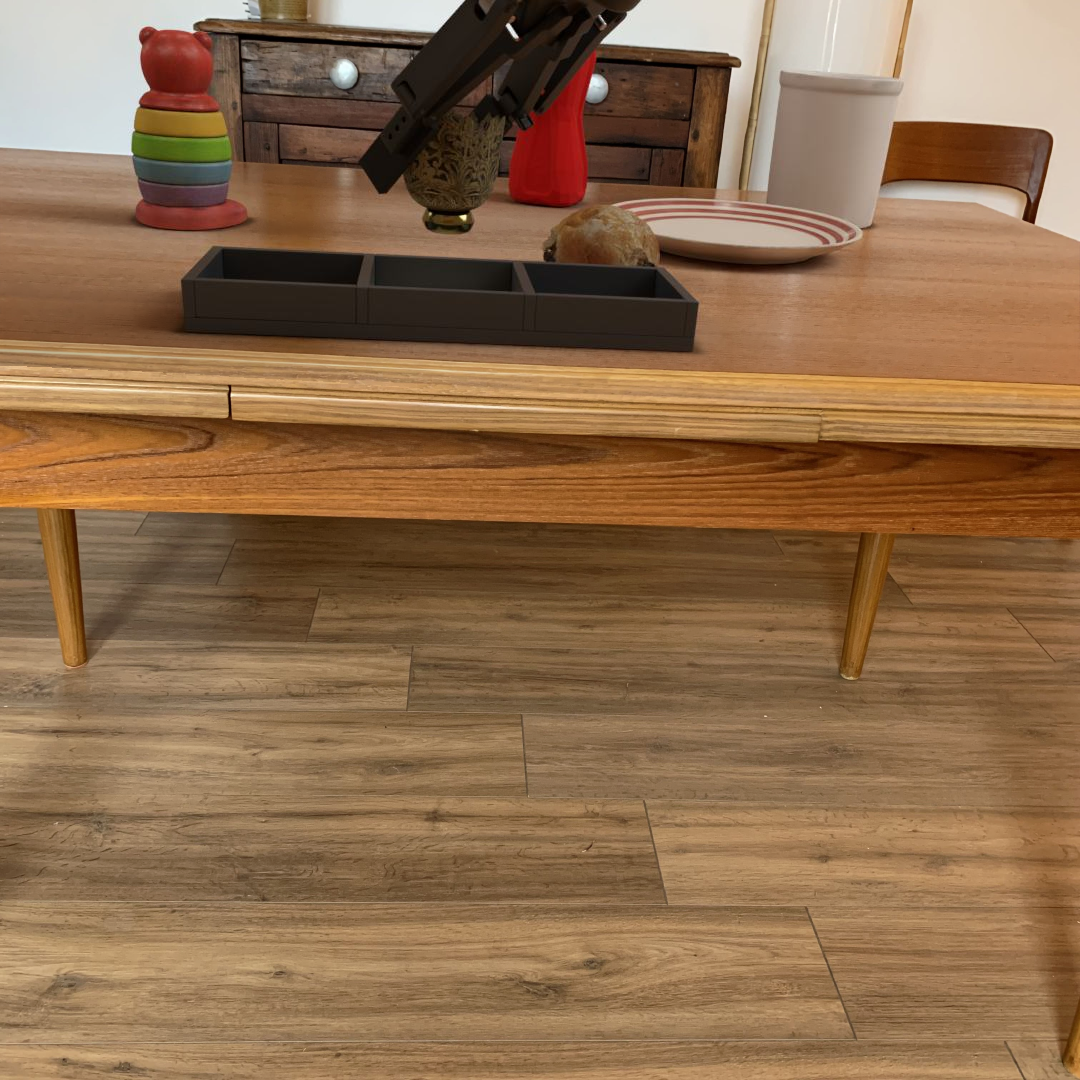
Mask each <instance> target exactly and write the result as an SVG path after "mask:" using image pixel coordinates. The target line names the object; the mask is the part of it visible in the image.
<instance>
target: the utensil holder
mask: <svg viewBox="0 0 1080 1080" xmlns="http://www.w3.org/2000/svg"><path fill="white" fill-rule="evenodd" d="M778 80H779V85H780V86H779V87H780V88H779V89H780V90H779V94H778V102H777V109H776V115H775V124H774V132H773V133H774V134H773V140H772V146H771V147H772V148H771V156H770V164H769V171H768V180H767V189H766V190H767V191H766V198H765V204H769V205H778V206H784V207H791V208H797V209H803V210H809V211H813V212H818V213H822V214H826V215H830V216H834V217H837V218H840V219H842V220H845V221H848V222H850V223H852V224H854V225H856V226H857V227H858V228H860V229H866V228H869V227H870V226H871V225H872V223H873V220H874V217H875V216H874V215H875V212H876V208H877V203H878V200H879V195H880V194H879V193H880V190H881V185H882V181H883V176H884V171H885V168H886V167H885V166H886V162H887V161H886V160H887V156H888V151H889V147H890V143H891V142H890V141H891V138H892V137H891V136H892V131H893V127H894V121H895V116H896V111H897V107H898V101H899V96H900V94H901V93H902V91H903V88H904V83H905V80H904V79H903V78H897V77H892V76H891V77H890V76H882V75H870V74H859V73H858V74H857V73H845V72H832V71H817V70H803V69H801V70H799V69H781V70H780V72H779V77H778Z"/></svg>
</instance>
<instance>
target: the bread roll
mask: <svg viewBox="0 0 1080 1080" xmlns="http://www.w3.org/2000/svg"><path fill="white" fill-rule="evenodd" d="M612 205H613V204H594V205H589V206H586V207H584V208H583V207H582V209H578V210H577V211H574V212H572V213H570V214H569V215H568V216H566V217H565V218H563V219H562V220H561V221H560V222H559V223H558V224H556V226H553V227H552V228H551V229H550V235H549V236H548V237H547V239H546V240H544V241H543V243H542V246H541V250H542V252H543V255H542V258H543V262H560V263H581V264H602V265H623V266H644V267H659V264H660V259H661V252H660V251H661V250H659V245H658V242H657V239H656V236H655V235H654V233H653V231H652V230H651V228H650V226H649V225H648V224H647V223H646V222H645V221H644V220H642V219H640V218H639V217H637V214H636V213H634V212H633V211H629V210H626V211H625V210H623V209H621V208H619V207H616V206H612Z"/></svg>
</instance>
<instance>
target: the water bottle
mask: <svg viewBox="0 0 1080 1080" xmlns="http://www.w3.org/2000/svg"><path fill="white" fill-rule="evenodd" d="M519 40H520V38H519V37H518V36H517V41H519ZM596 62H597V48H596V49H595V51H594V52H593V53H592V54H591V56H590V57H589V58H588V59H587V61H586V62H585V63H584V64H583V66H582V67H581V68H580V69H579V71H578V72H577V73H576V74H575V76H574V77H573V78H572V80H571V81H570V82H569V83H568V85H567V86H566V87H565V88H564V90H563V91H562V92H561V93H560V95H559V96H558V97H557V98H556V100H555V101H554V102H553V103H552V105H551V106H550V107H549V109H548V110H547V111H546V112H545V113H544V114H542V115H539V116H536V115H535V113H534V112H533V111H531V112H530V114H529V115H530V117H531V118H532V120H533V121H534V123H535V124H534V125H533V126H532V127H531V128H530V129H528V130H526V131H521V130H520V128H519V127H518V131H517V135H516V139H515V142H514V147H513V151H512V153H511V157H510V161H509V173H508V192H509V196H510V197H511V199H512V200H513V201H515V202H518V203H523V204H529V205H537V206H538V205H539V206H548V207H559V208H564V207H570V206H572V205H575V204H578V203H580V202H583V200H584V198H585V196H586V191H587V189H588V188H587V187H588V175H589V174H588V173H589V165H588V164H589V163H588V155H587V148H586V140H585V133H584V132H585V131H584V126H583V125H584V123H583V117H584V111H585V104H586V99H587V96H588V92H589V88H590V85H591V81H592V77H593V73H594V69H595V66H596ZM544 92H545V91H544V89H543V91H542V94H543V93H544Z"/></svg>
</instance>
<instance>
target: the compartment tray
mask: <svg viewBox="0 0 1080 1080" xmlns="http://www.w3.org/2000/svg"><path fill="white" fill-rule="evenodd" d="M180 286H181V302H182V314H183V328H184V332H185V333H201V334H203V333H204V334H225V335H227V334H229V335H249V336H250V335H254V336H257V335H259V336H278V337H279V336H281V337H307V338H330V339H333V338H334V339H354V340H355V339H356V340H357V339H358V340H380V341H383V340H384V341H404V342H405V341H408V342H429V343H430V342H433V343H455V344H456V343H458V344H460V343H461V344H485V345H486V344H487V345H509V346H510V345H511V346H514V345H515V346H538V347H559V348H560V347H561V348H562V347H563V348H588V349H589V348H590V349H610V350H611V349H613V350H614V349H615V350H637V351H638V350H640V351H641V350H642V351H664V352H667V351H669V352H689V353H690V352H691V353H692V352H693V351H694V345H695V337H696V331H697V330H696V329H697V322H698V314H699V305H700V302H699V301H698V300H697V299H696V298H695V297H694V296H693V295H692V294H691V293H690V292H689V291H688V290H687V288H686V287H684V286H683V285H682V283H681V282H679V281H678V280H677V278H675V277H674V276H673V275H672V274H671V273H670V272H669V271H668V269H666V267H664V266H663V267H662V266H658V267H644V266H623V265H602V264H581V263H560V262H545V261H536V260H515V259H512V260H511V259H493V258H491V259H490V258H474V257H455V256H454V257H453V256H435V255H434V256H433V255H432V256H431V255H430V256H429V255H408V254H389V253H370V252H369V253H368V252H349V251H347V252H346V251H330V250H329V251H328V250H327V251H326V250H309V249H308V250H305V249H284V248H265V247H245V246H242V247H240V246H223V245H212V246H211V247H210V249H208V251H207V252H205V254H204V255H203V256H202V257H201V258H200V259H198V261H197V262H196V263H195V264H194V265H193V266H192V267H191V268H190V269H189V271H188V272H187V273H185V275H184V276H183V277H182V278H181V279H180Z"/></svg>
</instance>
